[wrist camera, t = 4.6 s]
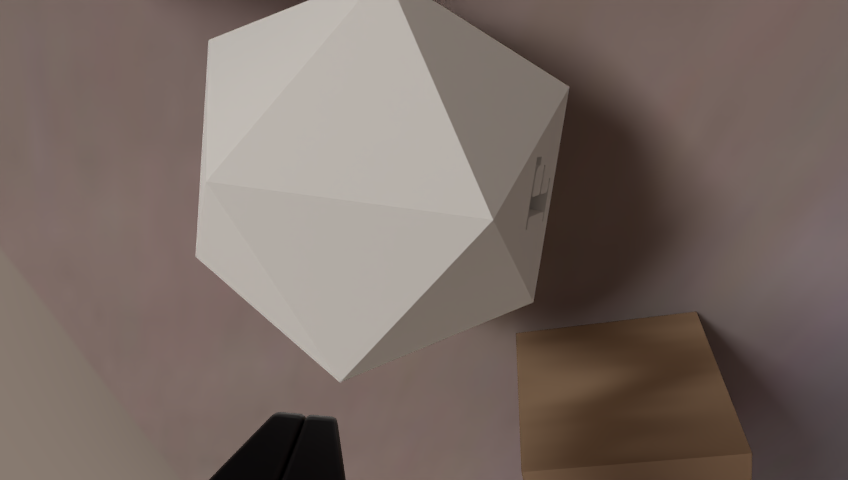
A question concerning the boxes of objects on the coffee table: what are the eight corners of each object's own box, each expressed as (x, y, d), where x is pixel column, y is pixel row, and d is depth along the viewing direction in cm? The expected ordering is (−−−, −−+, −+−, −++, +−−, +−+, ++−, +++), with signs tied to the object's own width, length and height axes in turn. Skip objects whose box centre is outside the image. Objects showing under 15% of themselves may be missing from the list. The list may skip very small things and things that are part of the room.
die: (416, 279, 24) (627, 408, 16) (140, 286, 20) (227, 472, 11) (449, 26, 22) (707, 16, 14) (154, -30, 18) (269, -94, 9)
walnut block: (695, 310, 23) (752, 453, 18) (699, 434, 26) (748, 586, 21) (515, 331, 24) (521, 472, 19) (539, 448, 27) (550, 595, 22)
